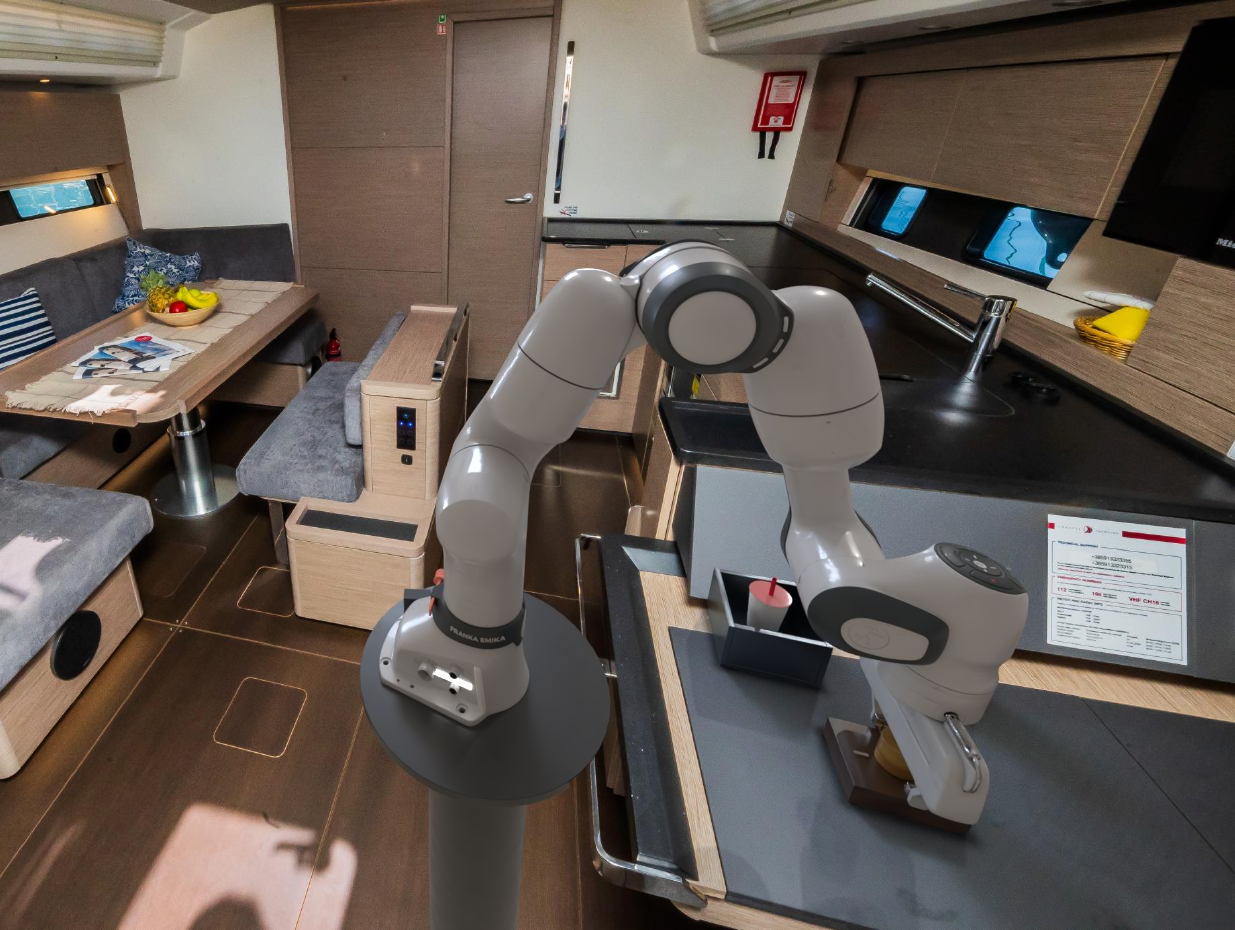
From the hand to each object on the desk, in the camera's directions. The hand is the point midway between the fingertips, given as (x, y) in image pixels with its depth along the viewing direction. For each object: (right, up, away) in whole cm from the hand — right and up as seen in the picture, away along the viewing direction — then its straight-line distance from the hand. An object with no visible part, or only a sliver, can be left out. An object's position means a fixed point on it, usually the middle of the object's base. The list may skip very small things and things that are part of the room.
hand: (896, 761), depth 69 cm
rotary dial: (0, -3, +1) cm, 3 cm away
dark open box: (-3, +4, +20) cm, 21 cm away
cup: (-3, +5, +20) cm, 21 cm away
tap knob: (0, 0, 0) cm, 0 cm away
